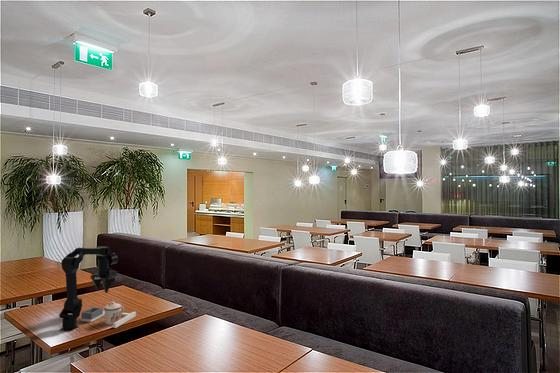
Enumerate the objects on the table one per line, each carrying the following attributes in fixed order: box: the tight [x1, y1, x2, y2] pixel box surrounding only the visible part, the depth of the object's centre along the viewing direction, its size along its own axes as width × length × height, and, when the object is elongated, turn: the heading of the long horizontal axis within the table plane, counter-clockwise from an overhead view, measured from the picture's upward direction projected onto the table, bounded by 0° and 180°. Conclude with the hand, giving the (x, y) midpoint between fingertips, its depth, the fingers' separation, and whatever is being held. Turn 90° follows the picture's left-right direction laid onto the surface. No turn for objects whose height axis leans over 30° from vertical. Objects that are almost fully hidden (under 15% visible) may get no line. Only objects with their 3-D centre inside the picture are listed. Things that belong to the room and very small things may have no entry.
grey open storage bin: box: [80, 306, 137, 329], centre depth 196 cm, size 18×26×5 cm
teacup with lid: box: [103, 301, 125, 326], centre depth 195 cm, size 12×9×12 cm
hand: (102, 291), depth 208 cm, fingers open, 9 cm apart
